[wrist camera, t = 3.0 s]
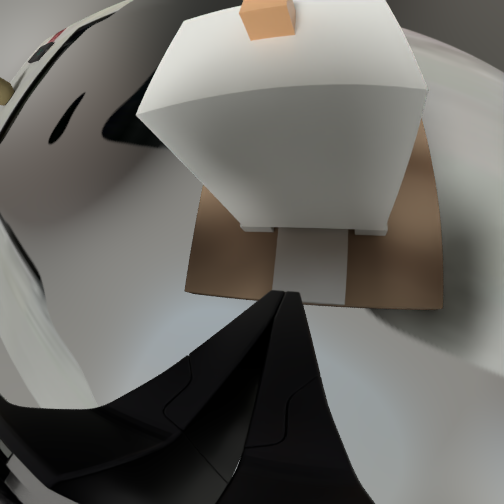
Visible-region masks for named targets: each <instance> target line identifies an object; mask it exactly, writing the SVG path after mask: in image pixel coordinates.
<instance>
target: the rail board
mask: <svg viewBox="0 0 504 504" xmlns="http://www.w3.org/2000/svg"><path fill="white" fill-rule="evenodd" d="M387 227H388V231H387V233H386V235H385V236H376V235H355V229H330V228H293V227H274V232H245V231H244V230H243V229H242V228H241V227H240V222H239V221H238V220H237V219H236V218H235V217H234V216H233V215H232V214H231V213H230V212H229V211H228V210H227V209H226V208H225V207H224V206H223V205H222V203H221V202H220V201H219V200H218V199H217V198H216V197H215V196H214V195H213V194H212V193H211V192H210V191H209V190H208V189H207V188H206V187H205V186H204V185H203V188H202V192H201V197H200V203H199V208H198V213H197V218H196V224H195V229H194V235H193V241H192V247H191V253H190V259H189V265H188V271H187V278H186V285H185V292H189V293H192V294H199V295H207V296H216V297H225V298H235V299H246V300H256V301H258V300H259V299H261V298H262V297H263V296H264V295H266V294H267V293H268V292H269V291H271V290H281V291H285V292H287V291H295V292H299V293H300V295H301V299H302V302H303V305H318V306H334V307H352V308H353V307H354V308H374V309H405V310H438V309H442V308H443V250H442V234H441V223H440V213H439V204H438V197H437V190H436V183H435V177H434V171H433V166H432V161H431V156H430V151H429V146H428V142H427V138H426V134H425V130H424V126H423V122H422V118H421V121H420V125H419V129H418V132H417V136H416V139H415V143H414V146H413V149H412V153H411V156H410V159H409V162H408V165H407V168H406V171H405V174H404V177H403V180H402V183H401V186H400V189H399V192H398V194H397V197H396V200H395V203H394V205H393V208H392V211H391V213H390V216H389V218H388V221H387Z"/></svg>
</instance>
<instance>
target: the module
mask: <svg viewBox="0 0 504 504" xmlns="http://www.w3.org/2000/svg"><path fill="white" fill-rule="evenodd" d="M427 93H428V88H427V85H426V83H425V80H424V78H423V75H422V73H421V70H420V68H419V65H418V63H417V61H416V58H415V56H414V54H413V52H412V50H411V48H410V45H409V43H408V41H407V39H406V37H405V35H404V33H403V31H402V29H401V27H400V26H399V24H398V22H397V20H396V18H395V16H394V15H393V13H392V11H391V9H390V8H389V6H388V4H387V3H386V1H385V0H244V1H243V3H242V6H238V7H234V8H229V9H225V10H221V11H217V12H213V13H209V14H206V15H202V16H199V17H195V18H192V19H189V20H186V21H184V22H183V24H182V26H181V27H180V29H179V31H178V32H177V34H176V36H175V37H174V39H173V41H172V43H171V44H170V46H169V48H168V50H167V51H166V53H165V55H164V57H163V59H162V61H161V63H160V65H159V66H158V68H157V70H156V72H155V74H154V76H153V78H152V80H151V82H150V85H149V87H148V89H147V91H146V93H145V95H144V97H143V100H142V102H141V104H140V106H139V109H138V111H137V113H136V116H137V117H138V118H139V119H140V120H141V121H142V122H143V123H144V124H145V125H146V126H147V127H148V128H149V129H150V130H151V131H152V132H153V133H154V134H155V135H156V136H157V137H158V138H159V139H160V140H161V141H162V142H163V143H164V144H165V145H166V146H167V147H168V148H169V149H170V150H171V151H172V153H173V154H174V155H175V156H176V157H177V158H178V159H179V160H180V161H181V162H182V163H183V164H184V165H185V166H186V167H187V168H188V169H189V170H190V171H191V172H192V173H193V174H194V175H195V176H196V177H197V178H198V179H199V180H200V181H201V183H202V184H203V185H204V186H205V187H206V188H207V189H208V190H209V191H210V192H211V193H212V194H213V195H214V196H215V197H216V198H217V199H218V200H219V201H220V202H221V203H222V205H223V206H224V207H225V208H226V209H227V210H228V211H229V212H230V213H231V214H232V215H233V216H234V217H235V218H236V219H237V220H238V221H239V222H240V227H241V228H242V229H243V230H244V231H245V232H274V227H293V228H330V229H355V235H376V236H385V235H386V233H387V231H388V227H387V221H388V218H389V216H390V213H391V211H392V208H393V205H394V203H395V200H396V197H397V194H398V192H399V189H400V186H401V183H402V180H403V177H404V174H405V171H406V168H407V165H408V162H409V159H410V156H411V153H412V149H413V146H414V143H415V139H416V136H417V132H418V129H419V125H420V121H421V117H422V114H423V110H424V106H425V101H426V97H427Z"/></svg>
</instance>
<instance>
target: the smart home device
mask: <svg viewBox="0 0 504 504" xmlns="http://www.w3.org/2000/svg"><path fill="white" fill-rule="evenodd" d="M53 44H54V43H53V42H50V43H48V44H46V45H44V46H42V47H40V48H39V49H38V51H37V52H36V53H35V54H34V55H33V56H32V57H31V59H30V60H29V61H28V62H29V63H32V62H35V61H38V60H40V58H41V57H42V56H43V55H44V54H45V53H46V52H47V51H48V50H49V48H50V47H51V46H52V45H53Z"/></svg>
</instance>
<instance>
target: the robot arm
mask: <svg viewBox="0 0 504 504" xmlns="http://www.w3.org/2000/svg"><path fill="white" fill-rule="evenodd" d="M239 460H240V461H239ZM238 462H239V464H238ZM237 464H238V467H237ZM236 467H237V469H236ZM235 469H236V471H235ZM234 471H235V473H234ZM233 473H234V475H233ZM0 504H375V503H374V501H373V500H372V499H371V497H370V496H369V495H368V494H367V492H366V491H365V489H364V488H363V487H362V485H361V483H360V481H359V480H358V478H357V476H356V474H355V472H354V469H353V467H352V465H351V463H350V460H349V458H348V455H347V453H346V450H345V448H344V445H343V443H342V440H341V438H340V435H339V433H338V431H337V428H336V425H335V423H334V421H333V418H332V415H331V412H330V409H329V406H328V403H327V399H326V395H325V392H324V388H323V384H322V379H321V377H320V371H319V367H318V363H317V359H316V355H315V351H314V346H313V342H312V338H311V334H310V330H309V326H308V322H307V318H306V314H305V310H304V306H303V302H302V299H301V295H300V293H299V292H295V291H287V292H285V291H281V290H271V291H269V292H268V293H267V294H266V295H264V296H263V297H262V298H261V299H259V300H258V301H257V302H256V303H254V304H253V305H252V306H251V307H249V308H248V309H247V310H246V311H244V312H243V313H242V314H241V315H239V316H238V317H237V318H235V319H234V320H233V321H232V322H230V323H229V324H228V325H226V326H225V327H224V328H223V329H221V330H220V331H219V332H217V333H216V334H215V335H213V336H212V337H211V338H210V339H208V340H207V341H206V342H205V343H203V344H202V345H200V346H199V347H198V348H196V349H195V350H194V351H192V352H191V353H190V354H189V356H186V357H184V358H183V359H181V360H180V361H179V362H177V363H176V364H175V365H173V366H172V367H170V368H169V369H167V370H166V371H165V372H163V373H162V374H160V375H158V376H157V377H155V378H153V379H152V380H150V381H148V382H147V383H145V384H143V385H141V386H140V387H138V388H136V389H135V390H132V391H131V392H129V393H127V394H125V395H124V396H122V397H120V398H118V399H116V400H114V401H113V402H110V403H108V404H106V405H103V406H101V407H97V408H92V409H46V408H30V407H21V406H17V405H13V404H11V403H9V402H8V401H7V400H6V399H5V398H4V397H3V396H2V395H1V394H0Z"/></svg>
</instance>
